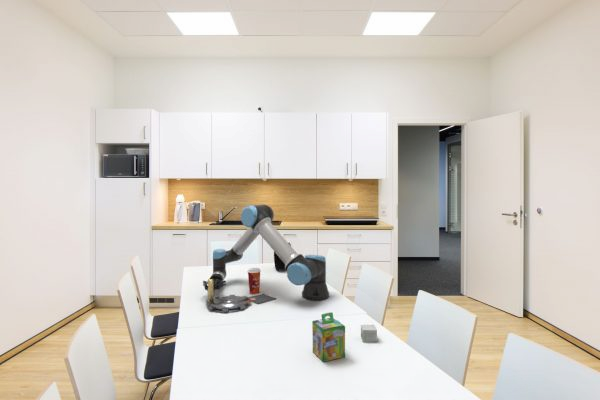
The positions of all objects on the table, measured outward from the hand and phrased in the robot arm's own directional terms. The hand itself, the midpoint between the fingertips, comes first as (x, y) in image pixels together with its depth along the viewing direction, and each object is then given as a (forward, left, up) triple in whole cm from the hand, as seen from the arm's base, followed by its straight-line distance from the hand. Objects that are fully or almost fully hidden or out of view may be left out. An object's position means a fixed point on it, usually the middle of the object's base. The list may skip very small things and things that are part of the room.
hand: (209, 291), depth 181 cm
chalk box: (-78, -7, -8) cm, 79 cm away
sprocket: (-6, -8, -7) cm, 13 cm away
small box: (-80, -28, -8) cm, 86 cm away
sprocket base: (-6, -8, -7) cm, 13 cm away
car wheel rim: (+36, -78, -8) cm, 86 cm away
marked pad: (-9, -26, -7) cm, 28 cm away
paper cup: (+3, -30, -8) cm, 31 cm away
